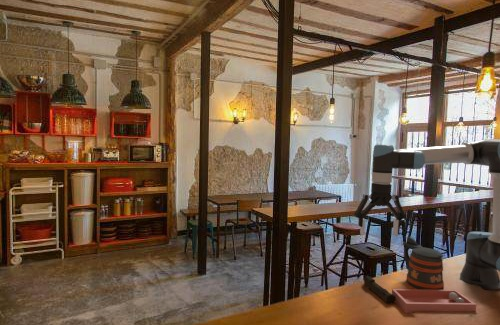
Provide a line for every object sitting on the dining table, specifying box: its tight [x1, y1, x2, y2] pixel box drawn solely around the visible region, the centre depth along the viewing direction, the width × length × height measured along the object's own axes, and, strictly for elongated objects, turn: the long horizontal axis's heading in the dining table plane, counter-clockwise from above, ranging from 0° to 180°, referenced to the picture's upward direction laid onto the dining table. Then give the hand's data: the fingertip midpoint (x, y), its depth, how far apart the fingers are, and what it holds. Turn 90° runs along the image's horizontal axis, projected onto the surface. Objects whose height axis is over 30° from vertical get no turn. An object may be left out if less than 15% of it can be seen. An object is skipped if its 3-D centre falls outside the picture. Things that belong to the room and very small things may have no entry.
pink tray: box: [391, 288, 477, 314], centre depth 129 cm, size 26×12×4 cm, turn 91°
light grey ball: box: [449, 292, 458, 301], centre depth 131 cm, size 3×3×3 cm
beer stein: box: [402, 236, 445, 290], centre depth 145 cm, size 19×15×20 cm
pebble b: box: [455, 298, 465, 303], centre depth 127 cm, size 3×3×3 cm
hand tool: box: [363, 274, 396, 305], centre depth 138 cm, size 19×4×5 cm, turn 10°
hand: (378, 234), depth 137 cm, fingers open, 13 cm apart
